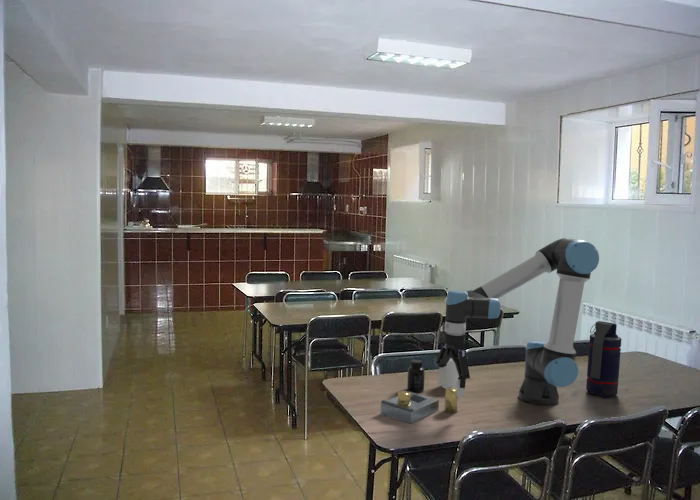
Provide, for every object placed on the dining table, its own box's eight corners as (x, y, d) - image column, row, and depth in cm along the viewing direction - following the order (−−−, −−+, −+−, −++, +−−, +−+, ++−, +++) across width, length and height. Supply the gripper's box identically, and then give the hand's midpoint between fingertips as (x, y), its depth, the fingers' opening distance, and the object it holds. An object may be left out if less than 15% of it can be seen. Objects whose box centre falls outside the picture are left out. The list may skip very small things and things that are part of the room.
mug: (469, 391, 238) (471, 363, 237) (450, 393, 235) (452, 364, 234) (455, 383, 249) (456, 355, 248) (437, 384, 246) (438, 356, 245)
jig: (438, 410, 215) (439, 389, 214) (410, 423, 201) (411, 401, 201) (409, 401, 223) (410, 381, 223) (380, 413, 210) (381, 392, 209)
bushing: (459, 410, 215) (460, 389, 215) (453, 414, 212) (454, 392, 211) (448, 407, 218) (449, 386, 218) (442, 410, 215) (443, 389, 214)
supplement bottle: (426, 389, 239) (427, 360, 238) (420, 394, 233) (422, 364, 232) (410, 386, 242) (411, 358, 241) (404, 391, 236) (405, 362, 235)
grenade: (593, 387, 249) (598, 318, 247) (621, 394, 241) (627, 322, 238) (578, 394, 239) (583, 322, 237) (608, 402, 231) (613, 327, 228)
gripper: (429, 325, 223) (426, 380, 225) (463, 341, 200) (459, 402, 202) (446, 325, 226) (443, 379, 227) (482, 341, 202) (478, 400, 204)
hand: (450, 390), depth 214 cm, fingers open, 13 cm apart
